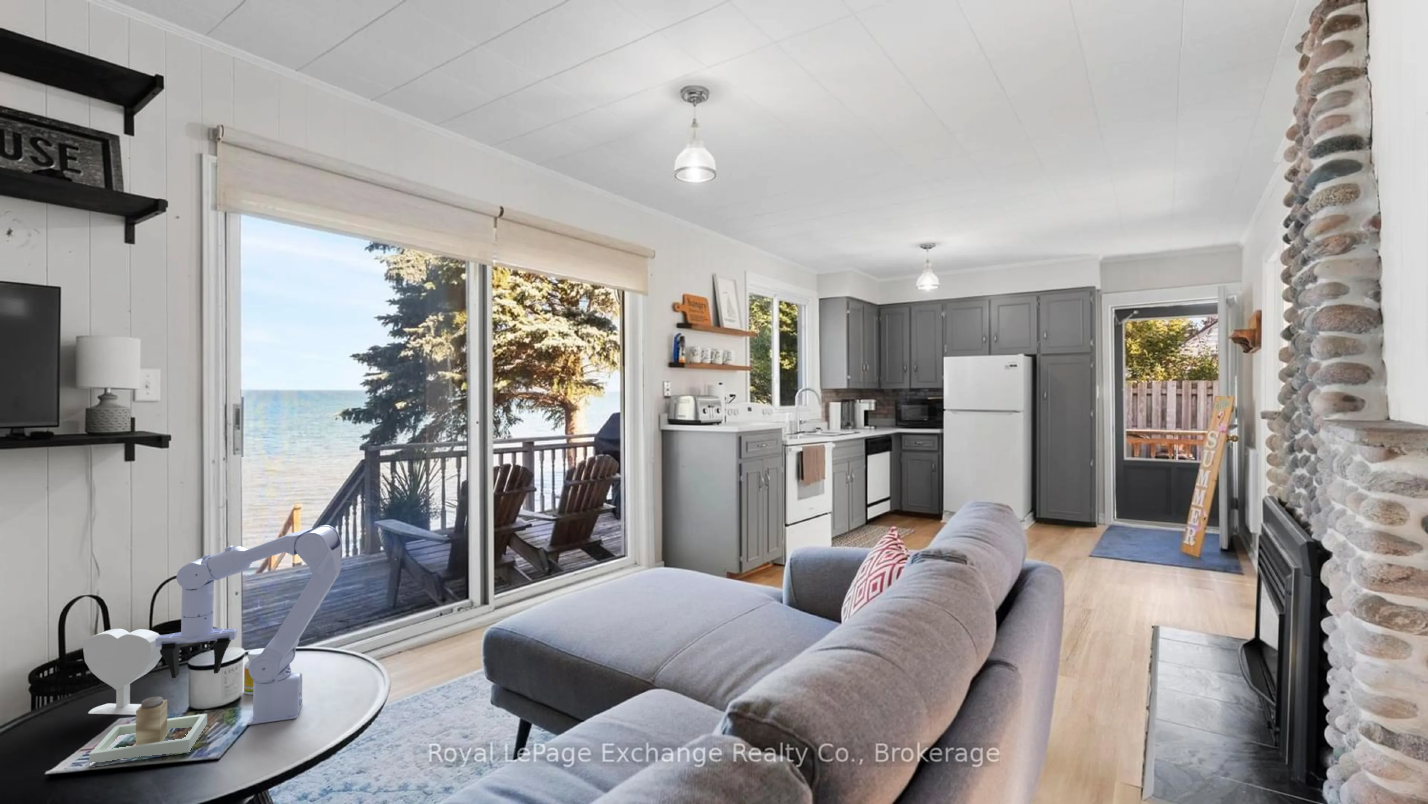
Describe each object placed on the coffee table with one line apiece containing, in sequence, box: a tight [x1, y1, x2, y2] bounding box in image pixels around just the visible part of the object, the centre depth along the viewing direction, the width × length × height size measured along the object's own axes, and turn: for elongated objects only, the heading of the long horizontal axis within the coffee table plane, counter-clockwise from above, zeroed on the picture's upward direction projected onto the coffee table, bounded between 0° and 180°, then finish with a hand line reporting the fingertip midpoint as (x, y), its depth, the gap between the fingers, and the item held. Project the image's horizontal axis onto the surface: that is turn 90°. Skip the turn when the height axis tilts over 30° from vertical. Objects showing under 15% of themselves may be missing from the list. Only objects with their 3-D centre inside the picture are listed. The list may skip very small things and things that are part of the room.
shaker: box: [135, 696, 168, 745], centre depth 140 cm, size 4×4×9 cm
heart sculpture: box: [82, 628, 163, 716], centre depth 156 cm, size 16×5×18 cm, turn 90°
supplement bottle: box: [243, 648, 265, 695], centre depth 167 cm, size 5×5×10 cm
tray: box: [88, 713, 208, 764], centre depth 140 cm, size 16×12×3 cm
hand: (196, 673), depth 151 cm, fingers open, 7 cm apart
